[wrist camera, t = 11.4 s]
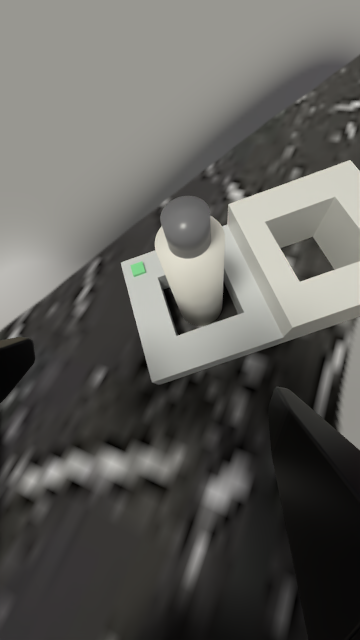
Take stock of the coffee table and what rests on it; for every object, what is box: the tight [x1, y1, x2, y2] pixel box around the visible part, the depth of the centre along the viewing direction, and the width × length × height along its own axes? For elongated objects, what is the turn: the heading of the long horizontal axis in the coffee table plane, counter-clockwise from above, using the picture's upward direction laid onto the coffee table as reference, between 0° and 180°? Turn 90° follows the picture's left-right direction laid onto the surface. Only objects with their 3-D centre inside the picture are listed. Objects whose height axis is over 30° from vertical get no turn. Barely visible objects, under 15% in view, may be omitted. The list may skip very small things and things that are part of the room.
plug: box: [155, 196, 225, 326], centre depth 18 cm, size 4×4×12 cm
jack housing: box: [121, 160, 360, 385], centre depth 21 cm, size 12×22×5 cm, turn 108°
